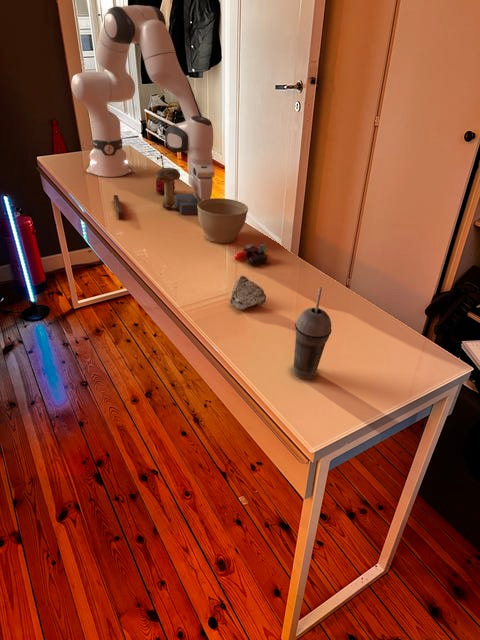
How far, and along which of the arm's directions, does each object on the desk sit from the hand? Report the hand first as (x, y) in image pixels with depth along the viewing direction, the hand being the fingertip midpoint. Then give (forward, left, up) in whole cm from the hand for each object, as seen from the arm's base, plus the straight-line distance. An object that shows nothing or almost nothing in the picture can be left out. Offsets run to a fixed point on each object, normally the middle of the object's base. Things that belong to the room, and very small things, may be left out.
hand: (198, 203), depth 178 cm
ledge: (0, -29, -2) cm, 29 cm away
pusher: (0, -4, -2) cm, 5 cm away
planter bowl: (+28, +1, -2) cm, 28 cm away
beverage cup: (+99, -1, -2) cm, 99 cm away
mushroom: (0, -11, -2) cm, 12 cm away
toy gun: (+44, +5, -2) cm, 44 cm away
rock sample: (+70, -4, -2) cm, 70 cm away
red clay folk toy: (-18, -9, -2) cm, 20 cm away
